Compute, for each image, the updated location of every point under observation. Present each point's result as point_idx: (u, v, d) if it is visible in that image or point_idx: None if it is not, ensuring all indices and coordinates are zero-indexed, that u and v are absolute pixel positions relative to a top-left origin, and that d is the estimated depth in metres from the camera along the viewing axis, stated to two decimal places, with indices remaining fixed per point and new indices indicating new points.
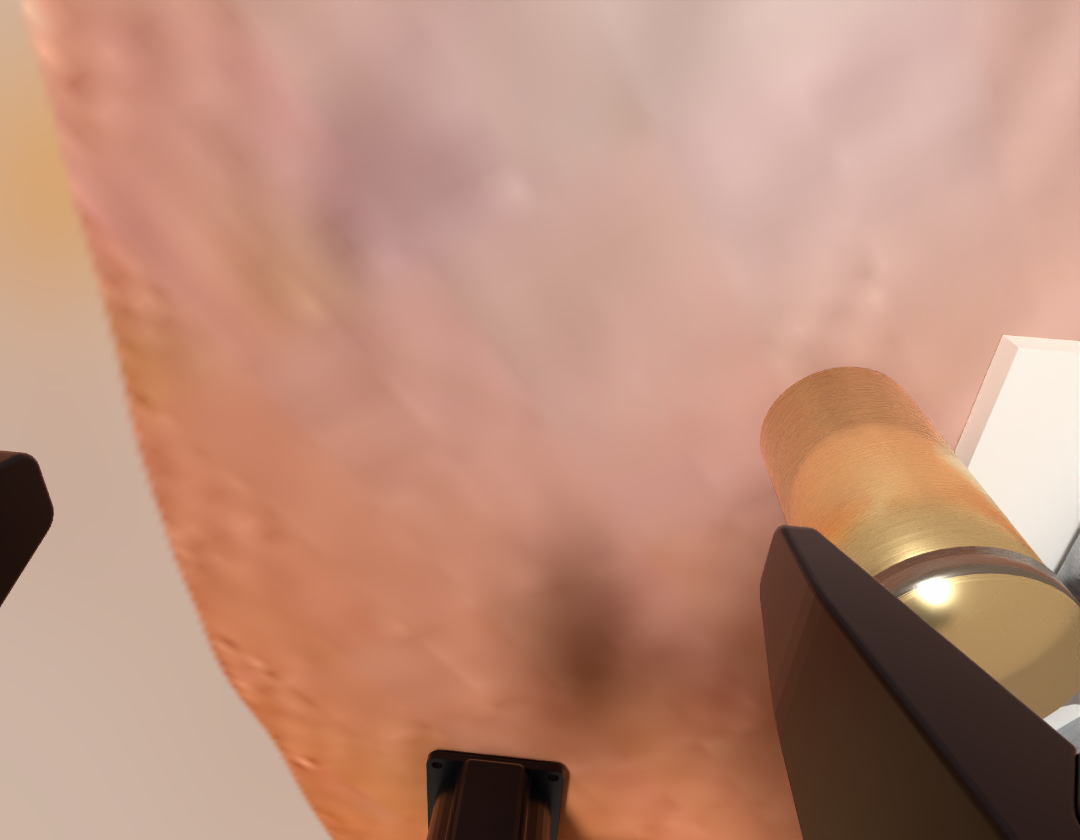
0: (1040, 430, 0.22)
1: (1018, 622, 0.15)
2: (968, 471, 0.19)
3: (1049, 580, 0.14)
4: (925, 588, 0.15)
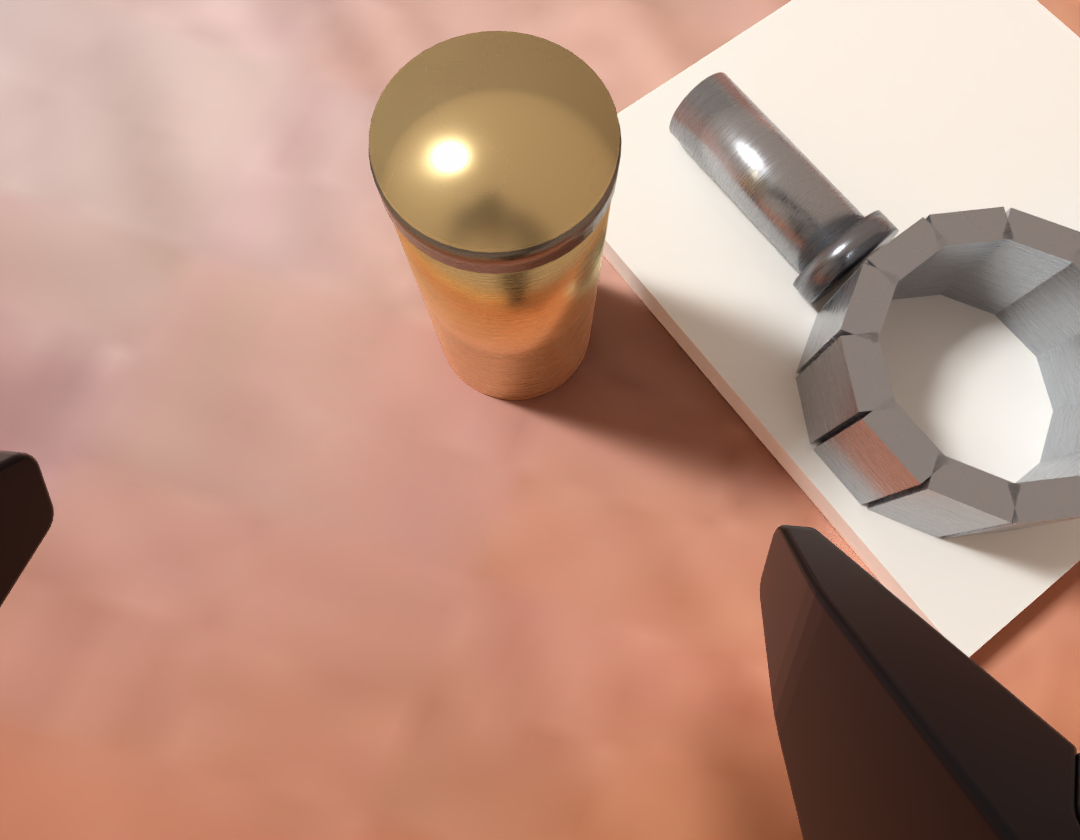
0: (627, 193, 0.24)
1: (474, 72, 0.15)
2: None
3: None
4: (383, 111, 0.15)
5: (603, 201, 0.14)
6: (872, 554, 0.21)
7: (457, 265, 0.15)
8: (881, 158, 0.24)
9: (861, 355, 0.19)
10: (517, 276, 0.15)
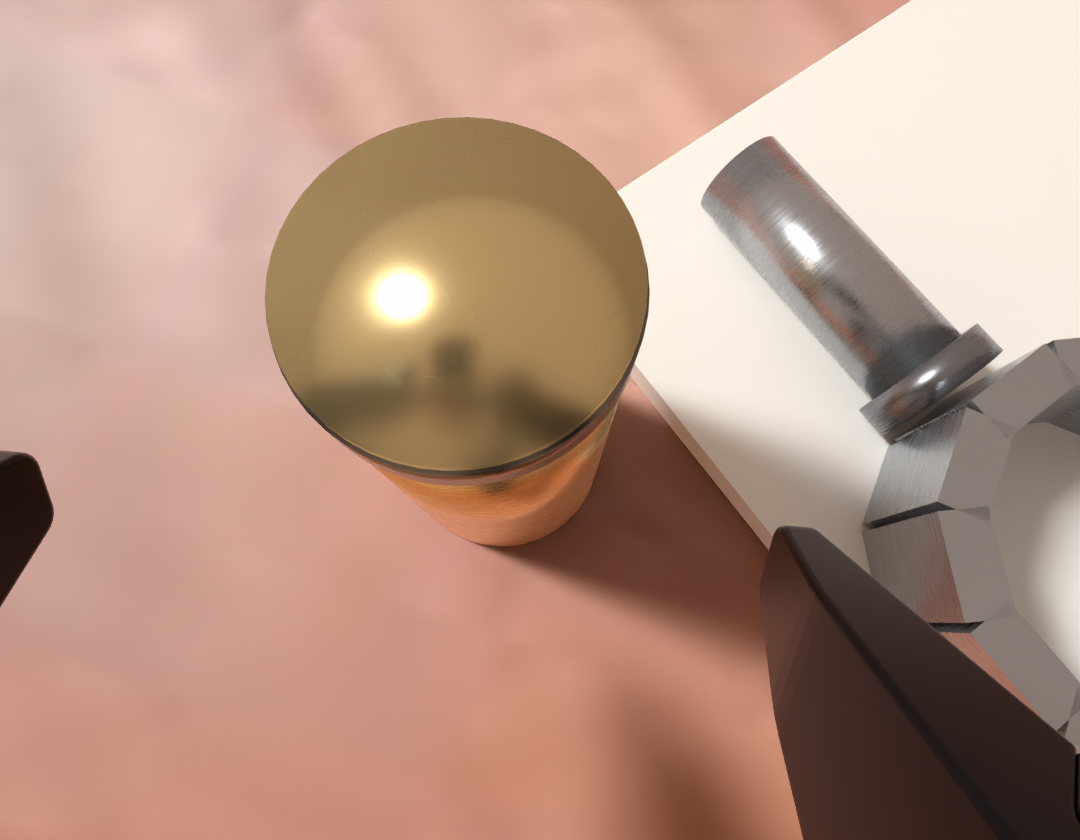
0: None
1: (429, 180, 0.10)
2: None
3: None
4: (293, 238, 0.10)
5: (621, 386, 0.09)
6: None
7: None
8: (967, 241, 0.19)
9: (966, 540, 0.14)
10: (490, 484, 0.10)
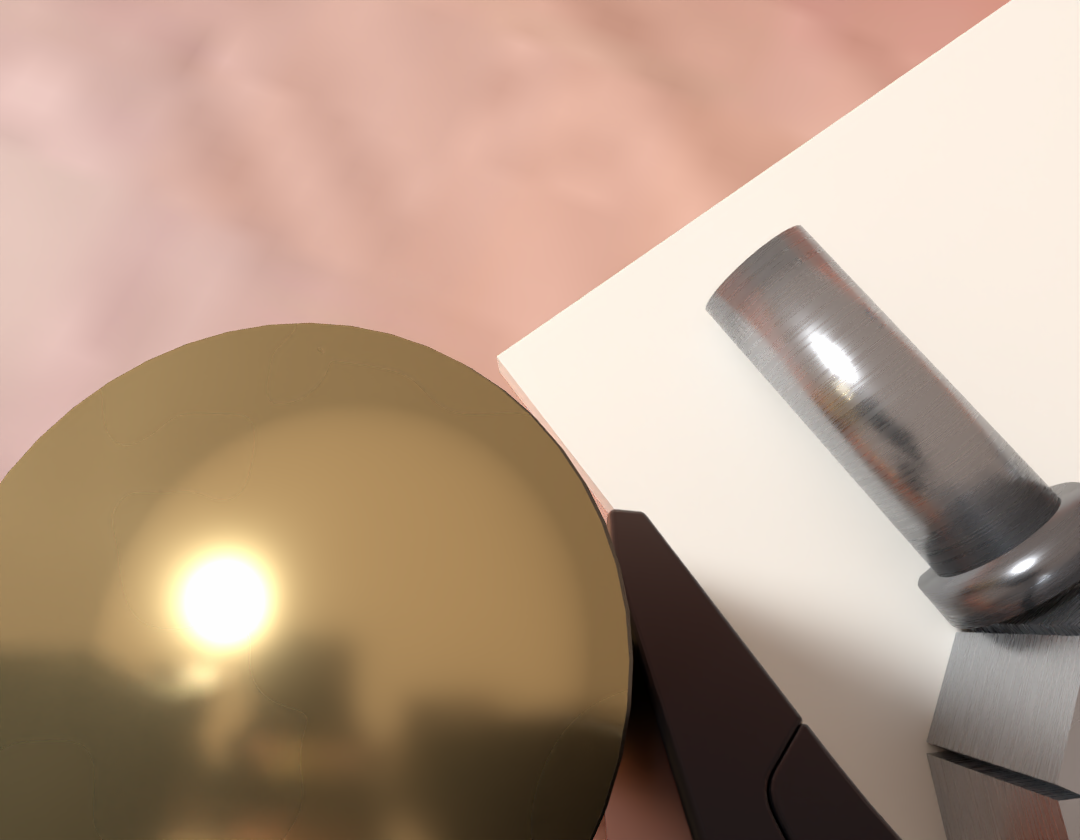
0: (637, 407, 0.15)
1: (235, 449, 0.05)
2: None
3: None
4: None
5: None
6: None
7: None
8: (1046, 347, 0.15)
9: None
10: None
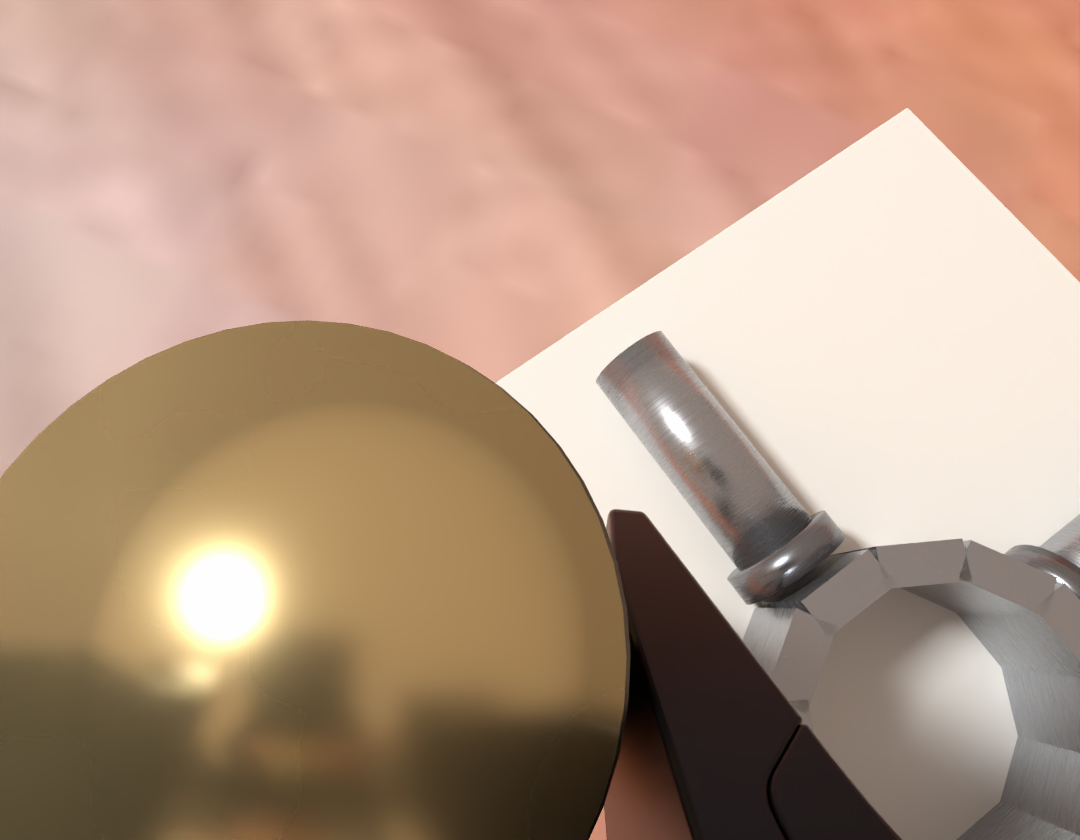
0: None
1: (234, 445, 0.05)
2: None
3: None
4: None
5: None
6: None
7: None
8: (836, 413, 0.22)
9: None
10: None
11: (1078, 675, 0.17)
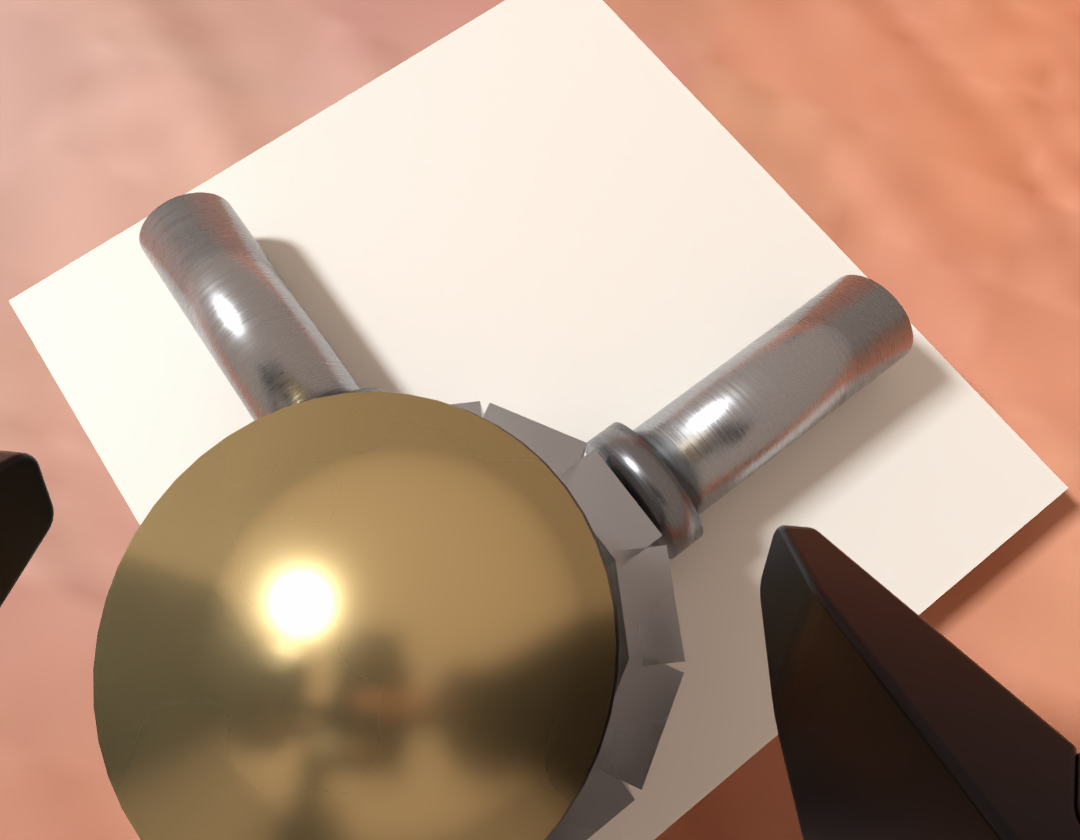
0: (112, 340, 0.19)
1: (324, 487, 0.07)
2: None
3: None
4: (140, 566, 0.07)
5: (581, 787, 0.07)
6: None
7: None
8: (446, 293, 0.19)
9: None
10: None
11: (611, 559, 0.14)
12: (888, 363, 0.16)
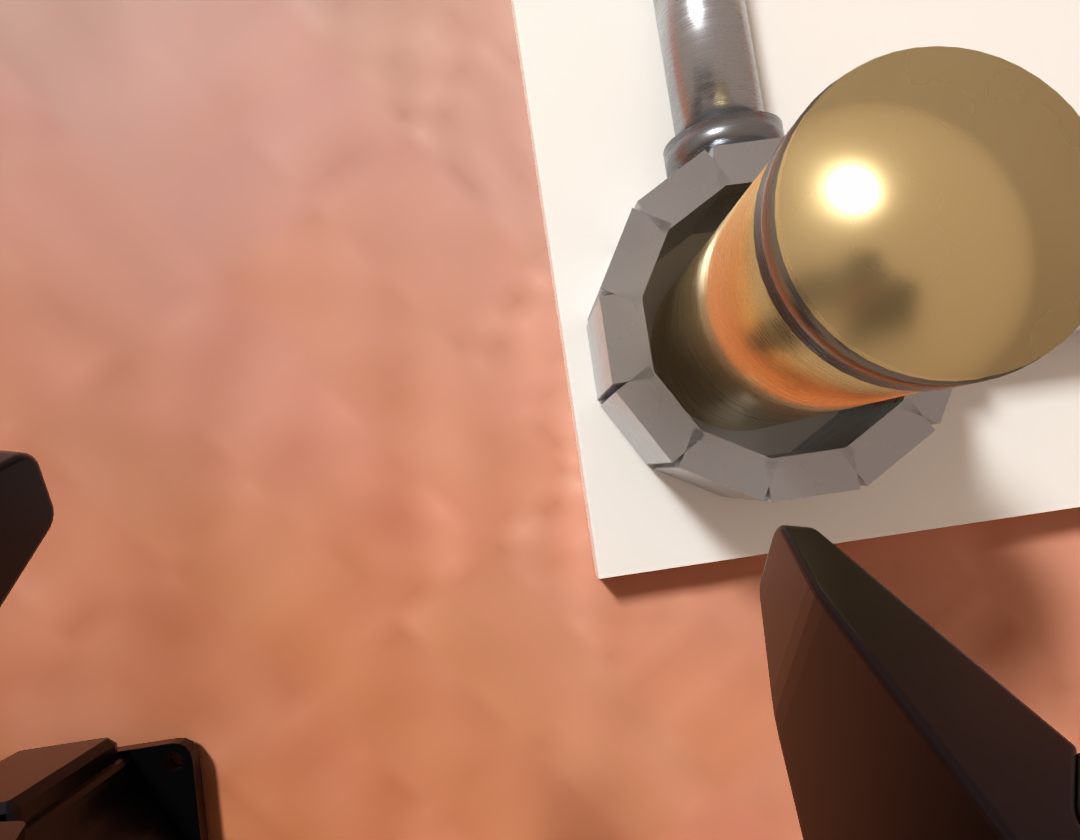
0: None
1: (963, 110, 0.11)
2: None
3: None
4: (823, 104, 0.11)
5: (1031, 361, 0.11)
6: (579, 447, 0.20)
7: (805, 339, 0.11)
8: None
9: (639, 237, 0.17)
10: (862, 383, 0.11)
11: None
12: None
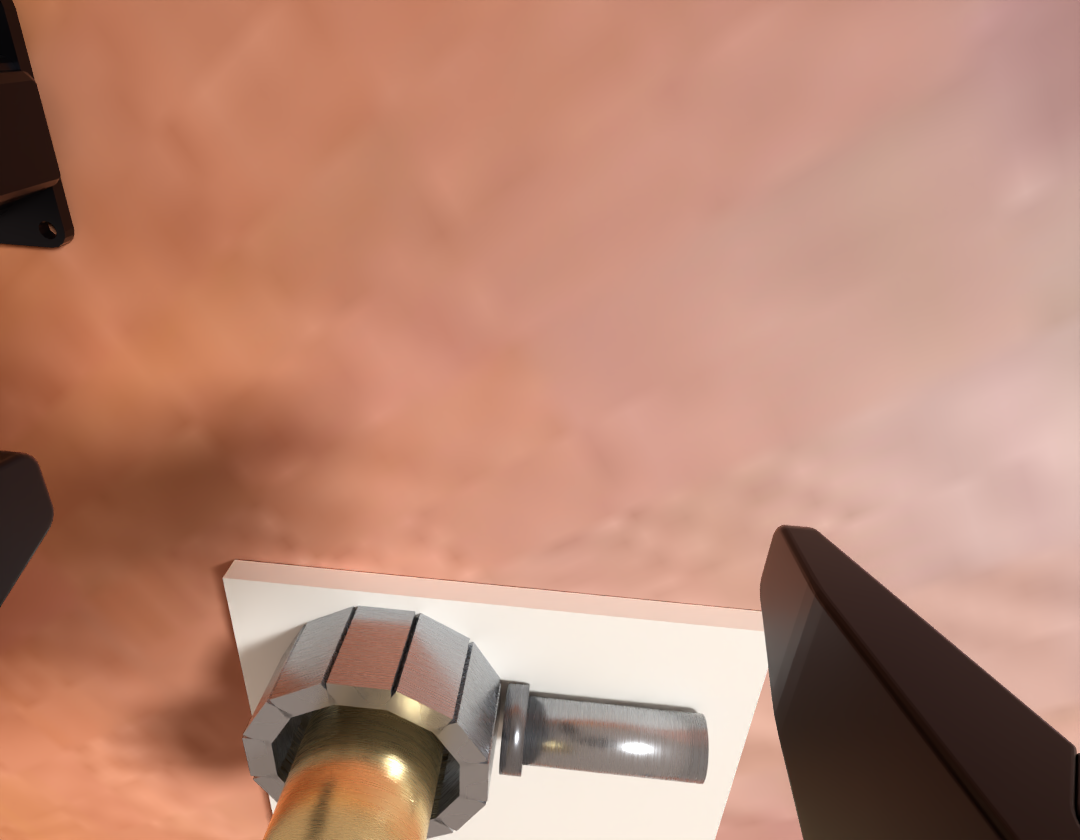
0: (694, 658, 0.26)
1: None
2: None
3: None
4: None
5: None
6: (322, 586, 0.26)
7: None
8: (566, 778, 0.30)
9: (430, 718, 0.23)
10: None
11: None
12: None
